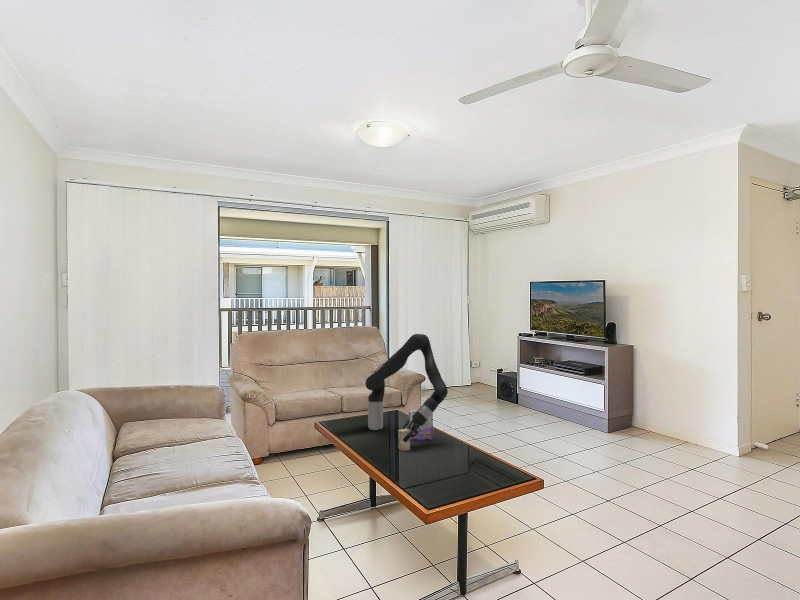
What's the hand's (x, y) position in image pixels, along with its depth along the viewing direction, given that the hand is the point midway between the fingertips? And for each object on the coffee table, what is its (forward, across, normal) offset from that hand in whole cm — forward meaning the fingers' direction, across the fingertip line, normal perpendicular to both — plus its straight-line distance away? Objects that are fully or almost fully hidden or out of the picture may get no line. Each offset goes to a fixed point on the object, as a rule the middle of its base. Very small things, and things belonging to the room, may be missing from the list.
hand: (402, 439), depth 239 cm
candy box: (-9, -13, +16) cm, 23 cm away
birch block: (+3, 0, +4) cm, 5 cm away
